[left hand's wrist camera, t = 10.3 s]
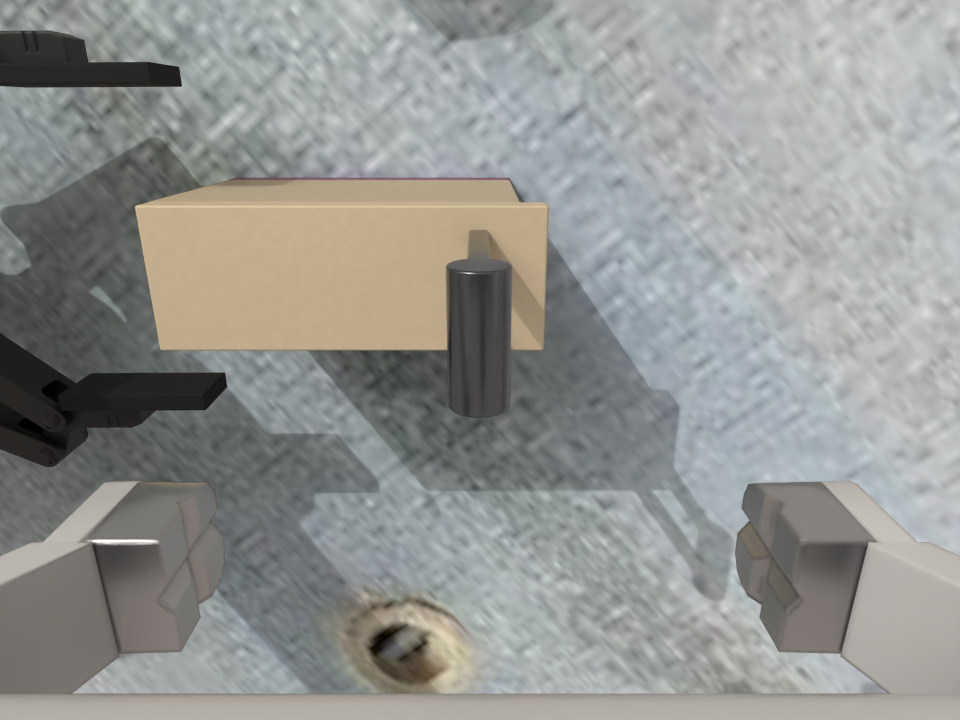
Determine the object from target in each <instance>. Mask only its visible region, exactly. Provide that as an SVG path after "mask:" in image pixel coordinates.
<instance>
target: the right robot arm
mask: <svg viewBox="0 0 960 720" xmlns="http://www.w3.org/2000/svg"><path fill="white" fill-rule="evenodd" d="M0 86H11V87H182V84H181V77H180V70H179V67H176V66H170V65H163V64H157V63H151V62H89V63H88V58H87V53H86V48H85V42H84V40H82V39H80V38H77V37H75V36H72V35H69V34H64V33H59V32H53V31H0ZM226 388H227V383H226V376H225V373H91V374H90V375H88V376H87V377H85V378H84V379H82V380H81V381H79V382H78V383H75V382H73V381H72V380H70V379H69V378H67V377H66V376H64V375H63V374H61V373H60V372H58V371H56V370H55V369H53V368H52V367H50V366H49V365H47V364H46V363H44V362H43V361H41V360H40V359H38V358H37V357H35V356H34V355H32V354H31V353H29V352H28V351H26V350H25V349H23V348H21V347H20V346H18V345H17V344H15V343H14V342H12V341H11V340H9V339H8V338H6V337H5V336H3V335H2V334H0V449H1V450H4V451H7V452H9V453H12V454H14V455H17V456H19V457H22V458H25V459H27V460H30V461H32V462H35V463H37V464H40V465H43V466H46V467H52V466H55V465H57V464H58V463H59V462H60V461H62V460H63V459H64V458H65V457H66V456H68V455H69V454H70V453H71V452H72V451H74V450H75V449H76V448H77V447H78V446H80V445H81V444H82V443H83V442H84V441H86V439H87V438H88V432H87V429H86V428H109V427H112V428H114V427H134V426H136V425H139V424H142V423H143V422H144V421H145V420H146V419H147V418H148V417H149V416H150V415H151V414H152V413H154V412H155V410H206V409H207V408H208V407H209V406H210V405H211V404H212V403H213V402H214V401H215V399H216V398H217V397H218V396H219V395H220V394H221V393H222V392H223V391H224V390H225V389H226Z"/></svg>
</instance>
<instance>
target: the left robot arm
mask: <svg viewBox="0 0 960 720" xmlns="http://www.w3.org/2000/svg"><path fill="white" fill-rule="evenodd" d="M217 510H218V503H217V498H216V493H215V489H214V488H213V487H212V486H211V485H210V484H209V483H200V482H149V481H146V482H142V481H113V482H107V483H103V484H102V485H101V486H100V487H99V488H98V489H97V490H96V491H95V492H94V493H93V494H92V495H91V496H90V497H89V498H88V499H87V500H86V501H85V502H84V503H83V504H82V505H81V506H80V507H79V508H78V509H77V510H76V511H74V512H73V513H72V514H71V515H70V516H69V517H68V518H67V519H66V520H65V521H64V522H63V523H62V524H61V525H60V526H59V527H58V528H57V529H56V530H55V531H54V532H53V533H52V534H51V535H50V536H49V537H48V538H47V539H45V540H44V541H43V542H31V543H29V544H27V545H24V546H22V547H20V548H17V549H15V550H13V551H10V552H8V553H6V554H4V555H1V556H0V720H960V556H959V555H956V554H954V553H952V552H950V551H947V550H945V549H943V548H940V547H938V546H936V545H933V544H931V543H929V542H917V541H916V540H915V539H914V538H912V537H911V536H910V535H909V534H908V533H907V532H906V531H905V530H904V529H903V528H902V527H901V526H900V525H899V524H898V523H897V522H896V521H895V520H894V519H893V518H892V517H891V516H890V515H889V514H888V513H887V512H886V511H885V510H884V509H883V508H882V507H880V506H879V505H878V504H877V503H876V502H875V501H874V500H873V499H872V498H871V497H870V496H869V495H868V494H867V493H866V492H865V491H864V490H863V489H862V488H861V487H860V486H859V485H858V484H856V483H853V482H851V481H827V482H788V483H754V484H748V486H747V488H746V491H745V493H744V497H743V503H742V510H743V511H744V513H745V514H746V516H747V517H748V519H749V520H750V521H749V522H748V523H747V524H746V525H745V526H744V527H743V528H742V529H741V530H740V531H739V532H738V533H737V541H736V550H735V556H736V566H737V572H738V575H739V579H740V582H741V584H742V586H743V588H744V590H745V592H746V594H747V596H749V597H750V598H752V599H753V600H755V601H756V602H758V603H759V604H761V605H762V606H761V612H760V619H761V621H762V623H763V624H764V626H765V628H766V630H767V632H768V633H769V635H770V637H771V639H772V640H773V642H774V644H775V646H776V647H777V649H778V651H779V652H800V653H837V654H841V657H842V658H843V659H845V660H846V661H847V662H849V663H850V664H851V665H852V666H854V667H855V668H856V669H858V670H859V671H860V672H861V673H863V674H864V675H865V676H867V677H868V678H869V679H870V680H872V681H873V682H874V683H876V684H877V685H878V686H879V687H881V688H882V689H883V690H885V691H886V692H887V693H889V694H72V693H73V692H74V691H76V690H77V689H78V688H79V687H81V686H82V685H83V684H85V683H86V682H87V681H88V680H90V679H91V678H92V677H94V676H95V675H96V674H98V673H99V672H100V671H101V670H103V669H104V668H105V667H107V666H108V665H109V664H110V663H112V662H113V661H114V660H116V659H117V658H118V657H119V654H123V653H158V652H181V651H182V649H183V648H184V646H185V644H186V642H187V640H188V639H189V637H190V635H191V633H192V632H193V630H194V628H195V626H196V624H197V623H198V621H199V619H200V612H199V606H198V605H199V604H201V603H202V602H204V601H205V600H207V599H208V598H210V597H211V596H213V594H214V592H215V590H216V588H217V586H218V584H219V582H220V579H221V575H222V570H223V566H224V549H225V547H224V540H223V533H222V532H221V531H220V530H219V529H218V528H217V527H216V526H215V525H214V524H213V523H212V522H211V521H210V520H211V519H212V517H213V516H214V514H215V513H216V511H217Z"/></svg>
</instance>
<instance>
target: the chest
mask: <svg viewBox="0 0 960 720" xmlns="http://www.w3.org/2000/svg"><path fill="white" fill-rule="evenodd" d="M150 202H519V200H518V197H517V195H516V193H515V191H514V189H513V187H512V184H511V182H510V179H509V178H234V179H230V180H228V181H224V182H221V183H217V184H213V185H210V186H206V187H202V188H198V189H195V190H191V191H187V192H184V193H180V194H176V195H172V196H169V197H165V198H161V199H157V200H154V201H150Z"/></svg>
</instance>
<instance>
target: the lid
mask: <svg viewBox="0 0 960 720" xmlns="http://www.w3.org/2000/svg"><path fill="white" fill-rule="evenodd" d="M135 210H136V216H137V221H138V227H139V233H140V238H141V244H142V249H143V255H144V261H145V266H146V272H147V277H148V283H149V289H150V294H151V300H152V305H153V311H154V317H155V322H156V328H157V333H158V339H159V345H160V349H161V350H163V351H181V350H447V374H448V406H449V408H450V409H451V410H452V411H453V412H455V413H457V414H459V415H462V416H467V417H477V418H481V417H491V416H496V415H499V414H501V413H503V412H505V411H506V410H507V409H508V408H509V405H510V370H511V350H543V349H544V328H545V301H546V273H547V246H548V218H549V207H548V205H547V204H546V203H544V202H147V203H144V204H140V205H137V206H135Z"/></svg>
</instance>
